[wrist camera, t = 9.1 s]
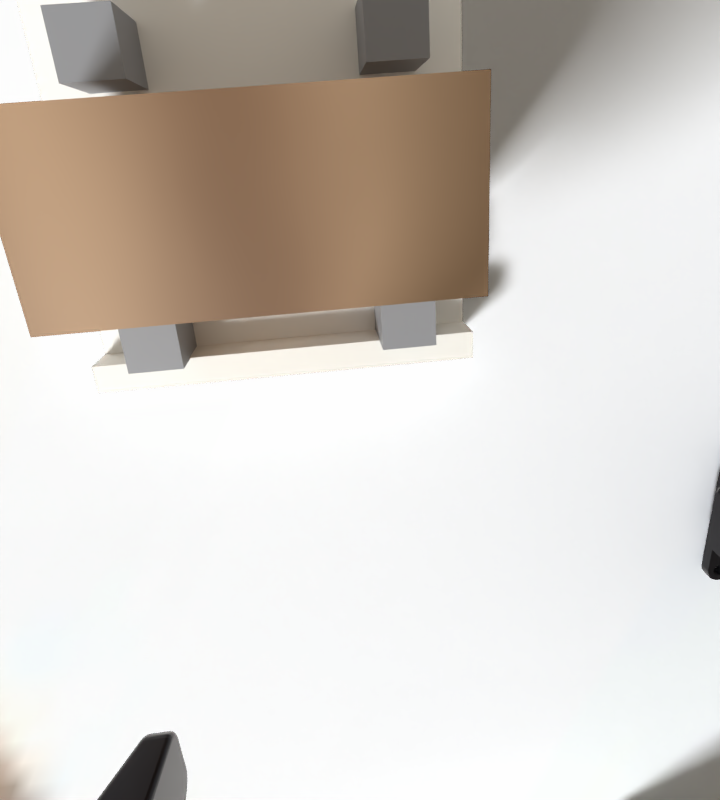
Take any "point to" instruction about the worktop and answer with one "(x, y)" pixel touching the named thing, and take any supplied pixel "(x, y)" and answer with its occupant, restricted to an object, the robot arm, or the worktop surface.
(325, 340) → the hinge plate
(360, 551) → the worktop surface
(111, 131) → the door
